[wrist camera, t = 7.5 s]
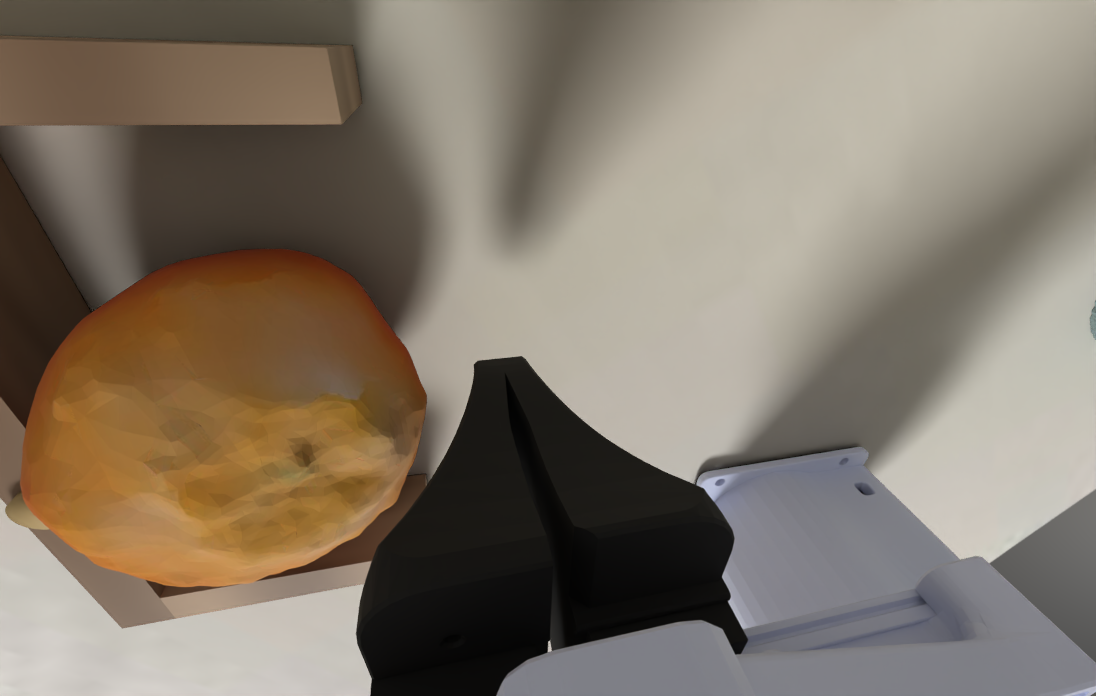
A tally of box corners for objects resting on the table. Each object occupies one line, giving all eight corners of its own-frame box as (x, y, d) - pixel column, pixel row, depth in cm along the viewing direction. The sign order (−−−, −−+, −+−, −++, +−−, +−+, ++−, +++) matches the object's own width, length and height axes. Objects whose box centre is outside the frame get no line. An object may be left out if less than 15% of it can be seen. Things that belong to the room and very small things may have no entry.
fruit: (-66, 325, 11) (-217, 504, 5) (263, 188, 14) (371, 213, 9) (179, 519, 16) (229, 720, 10) (382, 379, 19) (500, 472, 14)
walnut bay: (352, 45, 11) (323, 48, 8) (429, 493, 19) (429, 579, 16) (-167, 30, 9) (-474, 26, 6) (171, 533, 18) (116, 638, 15)
